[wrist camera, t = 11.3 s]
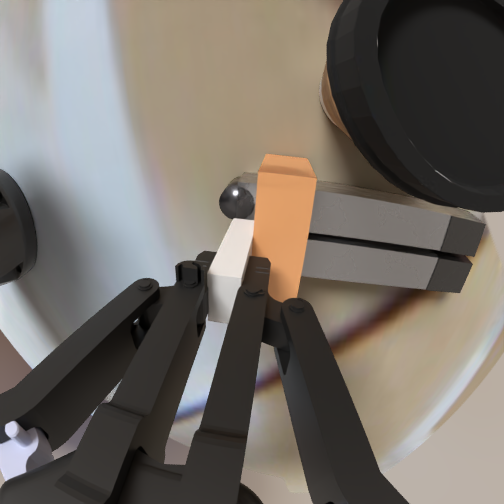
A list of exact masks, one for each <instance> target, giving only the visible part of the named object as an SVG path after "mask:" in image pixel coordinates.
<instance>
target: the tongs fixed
mask: <svg viewBox="0 0 504 504" xmlns="http://www.w3.org/2000/svg"><path fill="white" fill-rule="evenodd" d="M257 180H258V174H256V173H245V172H244V174H243V175H242V176H240V177H237V178H235V179H233V180H232V181H231V182H230V184H229V185H228V186H227V187H226V189H225V190H224V191H223V193H222V194H221V196H220V200H219V205H220V209H221V211H222V212H223V214H224V215H225V216H227V217H228V218H230V219H233V218H237V219H246V220H254V218H255V205H256V193H257ZM485 225H486V224H484V223H483V222H482V221H481V220H479V219H478V218H477V217H475V216H474V215H473V214H471V213H470V212H468V211H466V210H463V209H459V208H453V207H447V206H440V205H434V204H432V203H429V202H427V201H424V200H422V199H417V198H413V197H408V196H404V195H399V194H394V193H389V192H384V191H378V190H373V189H367V188H362V187H356V186H350V185H343V184H337V183H330V182H324V181H317V182H316V189H315V196H314V202H313V209H312V215H311V222H310V228H309V232H310V233H319V234H327V235H334V236H342V237H350V238H357V239H365V240H372V241H379V242H386V243H393V244H400V245H407V246H413V247H420V248H427V249H433V250H439V251H442V252H449V253H455V254H461V255H467V256H473V257H474V256H475V253H476V251H477V248H478V245H479V243H480V240H481V237H482V234H483V231H484V228H485Z"/></svg>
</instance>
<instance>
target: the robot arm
mask: <svg viewBox="0 0 504 504" xmlns="http://www.w3.org/2000/svg"><path fill="white" fill-rule="evenodd" d="M253 231H254V220H246V219H237V218H233V220H232V222H231V224H230V227H229V229H228V231H227V233H226V235H225V237H224V239H223V241H222V243H221V245H220V247H219V249H218V251H217V252H210V251H203V252H202V253H200V254H199V255H198V256H197V258H196V260H195V261H183V262H180V263H178V264H177V265H176V266H175V269H176V281H177V282H176V283H175V285H174V286H168V287H159V283H158V282H157V281H156V280H154V279H151V278H143V279H139V280H137V281H135V282H134V283H133V284H131V285H130V286H129V287H128V288H126V289H125V290H124V291H123V292H121V293H120V294H119V295H118V296H117V297H115V298H114V299H113V300H112V301H110V302H109V303H108V304H107V305H106V306H104V307H103V308H102V309H101V310H100V311H99V312H97V313H96V314H95V315H94V316H93V317H91V318H90V319H89V320H88V321H87V322H86V323H84V324H83V325H82V326H81V327H80V328H79V329H77V330H76V331H75V332H74V333H73V334H72V335H71V336H69V337H68V338H67V339H66V340H65V341H64V342H63V343H62V344H60V345H59V346H58V347H57V348H56V349H55V350H54V351H53V352H52V353H50V354H49V355H48V356H47V357H46V358H45V359H44V360H43V361H42V362H41V363H40V364H38V365H37V366H36V367H35V368H34V369H33V370H32V371H31V372H30V373H29V374H28V375H27V376H26V377H25V378H24V379H23V380H22V381H20V382H19V383H18V384H17V385H16V386H15V387H14V388H12V389H10V390H8V391H6V392H4V393H2V394H0V469H1V472H2V474H3V477H4V479H5V481H6V482H5V483H4V484H3V485H2V487H1V488H0V504H263V503H262V501H261V500H260V499H259V497H258V496H257V495H256V494H255V493H254V492H253V491H252V490H251V489H249V488H248V487H247V486H245V485H244V484H242V483H240V480H241V474H242V468H243V462H244V456H245V449H246V443H247V436H248V430H249V423H250V417H251V410H252V404H253V397H254V390H255V383H256V376H257V369H258V362H259V355H260V347H261V342H263V343H266V344H268V345H271V346H273V347H274V351H275V355H276V359H277V364H278V368H279V372H280V376H281V380H282V384H283V388H284V392H285V396H286V400H287V405H288V409H289V413H290V417H291V421H292V425H293V429H294V433H295V437H296V441H297V445H298V450H299V454H300V458H301V462H302V466H303V470H304V474H305V478H306V482H307V486H308V490H309V493H310V496H311V499H312V502H313V504H409V503H408V502H407V501H406V499H404V498H403V496H402V495H401V494H400V493H399V492H398V491H397V490H396V489H395V488H394V487H393V485H392V484H391V483H390V482H389V481H388V480H387V479H386V478H385V477H384V476H383V474H382V473H381V472H380V470H379V467H378V465H377V462H376V459H375V457H374V454H373V451H372V449H371V446H370V444H369V441H368V438H367V436H366V433H365V431H364V428H363V426H362V423H361V421H360V418H359V416H358V413H357V411H356V408H355V406H354V403H353V401H352V398H351V396H350V393H349V391H348V389H347V386H346V384H345V381H344V379H343V377H342V374H341V372H340V369H339V367H338V365H337V362H336V360H335V358H334V355H333V353H332V351H331V348H330V346H329V344H328V341H327V339H326V337H325V335H324V332H323V330H322V328H321V325H320V323H319V321H318V319H317V316H316V314H315V312H314V310H313V308H312V306H311V304H310V303H309V302H307V301H306V300H303V299H300V298H289V299H287V300H285V301H284V302H283V303H282V302H279V301H277V300H275V299H273V298H272V297H271V296H270V295H269V293H268V285H269V276H270V268H271V262H270V261H269V259H268V258H265V257H257V256H252V243H253ZM36 254H37V242H36V234H35V229H34V224H33V220H32V217H31V214H30V211H29V208H28V205H27V203H26V201H25V198H24V196H23V194H22V192H21V191H20V189H19V187H18V186H17V184H16V183H15V181H14V180H13V179H12V178H11V177H10V176H9V175H8V174H7V173H6V172H5V171H3V170H1V169H0V286H1V285H4V284H7V283H10V282H13V281H15V280H18V279H20V278H21V277H22V276H24V275H25V274H26V273H27V272H28V271H29V270H30V269H31V268H32V267H33V265H34V263H35V260H36ZM207 314H208V321H213V322H220V323H226V324H228V327H227V330H226V334H225V338H224V341H223V345H222V348H221V352H220V356H219V359H218V363H217V367H216V370H215V374H214V377H213V381H212V385H211V388H210V392H209V396H208V399H207V403H206V407H205V410H204V414H203V418H202V421H201V425H200V427H199V429H198V430H197V431H196V432H195V434H194V437H193V440H192V443H191V447H190V450H189V454H188V458H187V461H186V465H170V464H164V460H165V446H166V443H167V439H168V436H169V433H170V430H171V427H172V424H173V421H174V418H175V415H176V412H177V409H178V406H179V403H180V400H181V398H182V395H183V392H184V389H185V386H186V383H187V380H188V377H189V374H190V371H191V368H192V365H193V362H194V360H195V357H196V354H197V351H198V348H199V345H200V342H201V340H202V337H203V334H204V331H205V328H206V317H207ZM137 318H138V320H137V321H136V322H135V323H133V322H134V321H135V320H136V319H137ZM122 378H123V379H122ZM121 379H122V381H121ZM120 381H121V382H120ZM119 382H120V384H119V386H118V388H117V390H116V392H115V394H114V396H113V398H112V400H111V401H110V402H109V403H102V404H101V405H99V404H100V403H101V402H102V401H103V400H104V399H105V398H106V396H107V395H108V394H109V393H110V392H111V391H112V390H113V389H114V387H115V386H116V385H117V384H118V383H119ZM97 407H98V408H97ZM96 408H97V409H96ZM95 409H96V411H95V413H94V415H93V417H92V419H91V421H90V423H89V425H88V427H87V429H86V431H85V433H84V435H83V437H82V439H81V441H80V443H79V445H78V447H77V450H75V451H73V452H71V453H69V454H67V455H64V456H62V457H60V458H58V459H56V460H54V457H53V455H52V452H53V451H54V450H56V449H58V448H59V447H60V446H61V445H63V444H64V443H65V442H66V441H67V440H68V439H69V438H70V437H71V436H72V435H73V434H74V433H75V432H76V431H77V430H78V428H79V427H80V426H81V425H82V424H83V423H84V421H85V420H86V419H87V418H88V417H89V416H90V415H91V414H92V412H93V411H94V410H95Z"/></svg>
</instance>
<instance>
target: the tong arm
mask: <svg viewBox="0 0 504 504" xmlns="http://www.w3.org/2000/svg"><path fill="white" fill-rule="evenodd" d="M472 265H473V264H472V263H471V262H470V260H469V259H468V258H467V257H466V256H465V255H461V254H455V253H449V252H442V251H439V250H433V249H427V248H420V247H413V246H407V245H400V244H393V243H386V242H379V241H372V240H365V239H357V238H350V237H342V236H334V235H327V234H319V233H310V232H309V234H308V240H307V245H306V251H305V257H304V262H303V268H302V273H301V276H305V277H313V278H322V279H331V280H340V281H349V282H358V283H367V284H377V285H386V286H396V287H406V288H416V289H426V290H431V291H442V292H453V293H460V291H461V289H462V287H463V285H464V283H465V281H466V278H467V276H468V274H469V272H470V269H471V267H472Z"/></svg>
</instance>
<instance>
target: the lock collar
mask: <svg viewBox="0 0 504 504" xmlns="http://www.w3.org/2000/svg"><path fill="white" fill-rule="evenodd" d="M316 182H317V178H316V175H315V173H314V171H313V169H312V167H311V165H310V163H309V161H308V159H306V158H298V157H290V156H281V155H272V154H266V156H265V158H264V160H263V162H262V164H261V167H260V169H259V171H258V180H257V193H256V205H255V218H254V231H253V243H252V256H257V257H265V258H268V259H269V261H270V262H271V268H270V276H269V285H268V293H269V295H270V296H271V297H272V298H273V299H275V300H277V301H279V302H282V303H283V302H284V301H285V300H287V299H289V298H297V294H298V289H299V283H300V278H301V273H302V268H303V262H304V257H305V251H306V245H307V240H308V234H309V228H310V222H311V215H312V209H313V202H314V196H315V189H316Z"/></svg>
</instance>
